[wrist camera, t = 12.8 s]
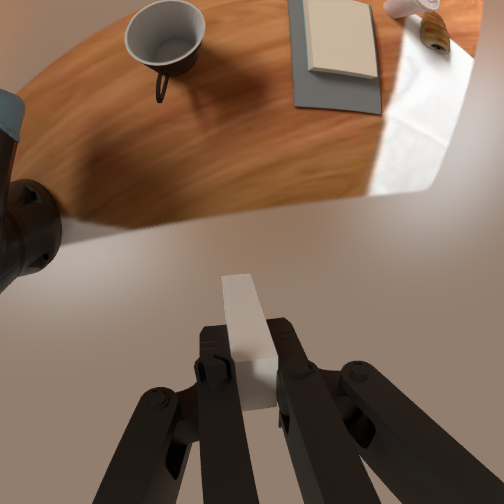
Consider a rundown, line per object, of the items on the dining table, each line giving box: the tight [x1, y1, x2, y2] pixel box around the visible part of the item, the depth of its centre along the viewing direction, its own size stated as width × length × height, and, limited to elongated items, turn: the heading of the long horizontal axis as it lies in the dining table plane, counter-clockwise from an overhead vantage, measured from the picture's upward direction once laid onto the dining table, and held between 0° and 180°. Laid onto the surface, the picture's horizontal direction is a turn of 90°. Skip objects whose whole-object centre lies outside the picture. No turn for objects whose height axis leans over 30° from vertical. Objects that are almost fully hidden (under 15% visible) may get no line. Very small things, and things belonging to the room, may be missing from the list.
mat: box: [287, 0, 381, 114], centre depth 33 cm, size 14×20×1 cm
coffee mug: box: [124, 0, 205, 103], centre depth 27 cm, size 12×9×10 cm
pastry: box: [420, 11, 450, 54], centre depth 31 cm, size 9×7×4 cm
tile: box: [302, 0, 377, 79], centre depth 31 cm, size 10×2×13 cm
